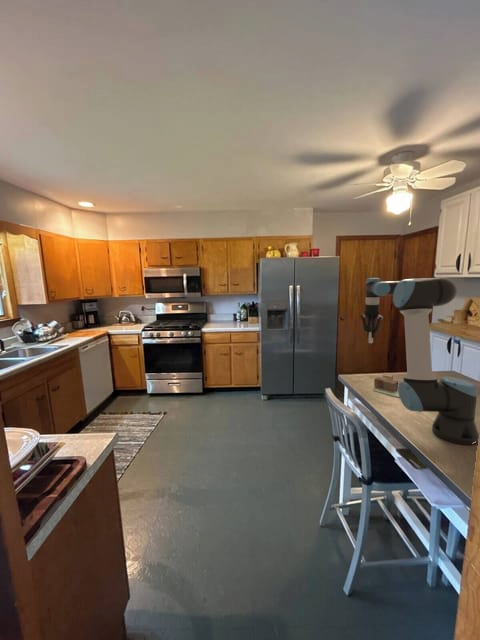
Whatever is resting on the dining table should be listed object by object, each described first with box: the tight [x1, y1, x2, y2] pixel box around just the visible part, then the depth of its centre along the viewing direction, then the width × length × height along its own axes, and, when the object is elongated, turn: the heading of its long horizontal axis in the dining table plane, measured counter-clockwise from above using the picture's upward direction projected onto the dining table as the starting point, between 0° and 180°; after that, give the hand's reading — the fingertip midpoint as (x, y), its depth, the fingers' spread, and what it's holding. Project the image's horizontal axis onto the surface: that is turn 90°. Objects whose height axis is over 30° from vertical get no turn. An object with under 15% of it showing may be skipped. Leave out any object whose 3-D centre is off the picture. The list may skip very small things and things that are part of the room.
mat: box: [372, 387, 400, 399], centre depth 161 cm, size 14×14×1 cm
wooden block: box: [373, 376, 399, 392], centre depth 163 cm, size 5×5×11 cm
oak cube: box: [382, 372, 394, 380], centre depth 173 cm, size 5×5×5 cm
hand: (370, 342), depth 171 cm, fingers closed
